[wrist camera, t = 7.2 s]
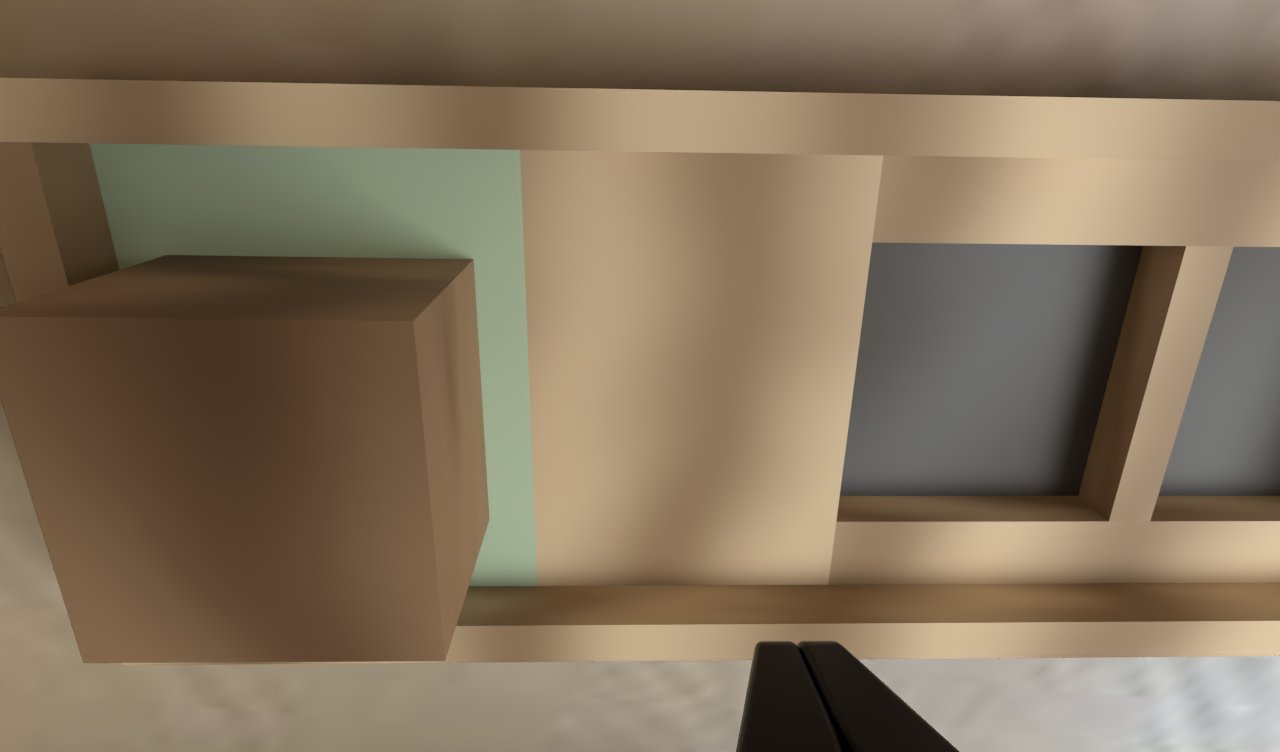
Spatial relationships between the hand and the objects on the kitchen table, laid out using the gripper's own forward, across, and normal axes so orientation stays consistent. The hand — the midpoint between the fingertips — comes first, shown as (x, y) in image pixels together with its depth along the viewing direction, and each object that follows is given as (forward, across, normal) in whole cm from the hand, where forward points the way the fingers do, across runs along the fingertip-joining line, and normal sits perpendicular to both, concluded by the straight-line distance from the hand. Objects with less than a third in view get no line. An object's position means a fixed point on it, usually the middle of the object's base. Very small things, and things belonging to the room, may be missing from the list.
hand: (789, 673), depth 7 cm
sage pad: (+10, +8, 0) cm, 13 cm away
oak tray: (+10, -2, 0) cm, 10 cm away
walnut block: (+8, +8, 0) cm, 11 cm away
